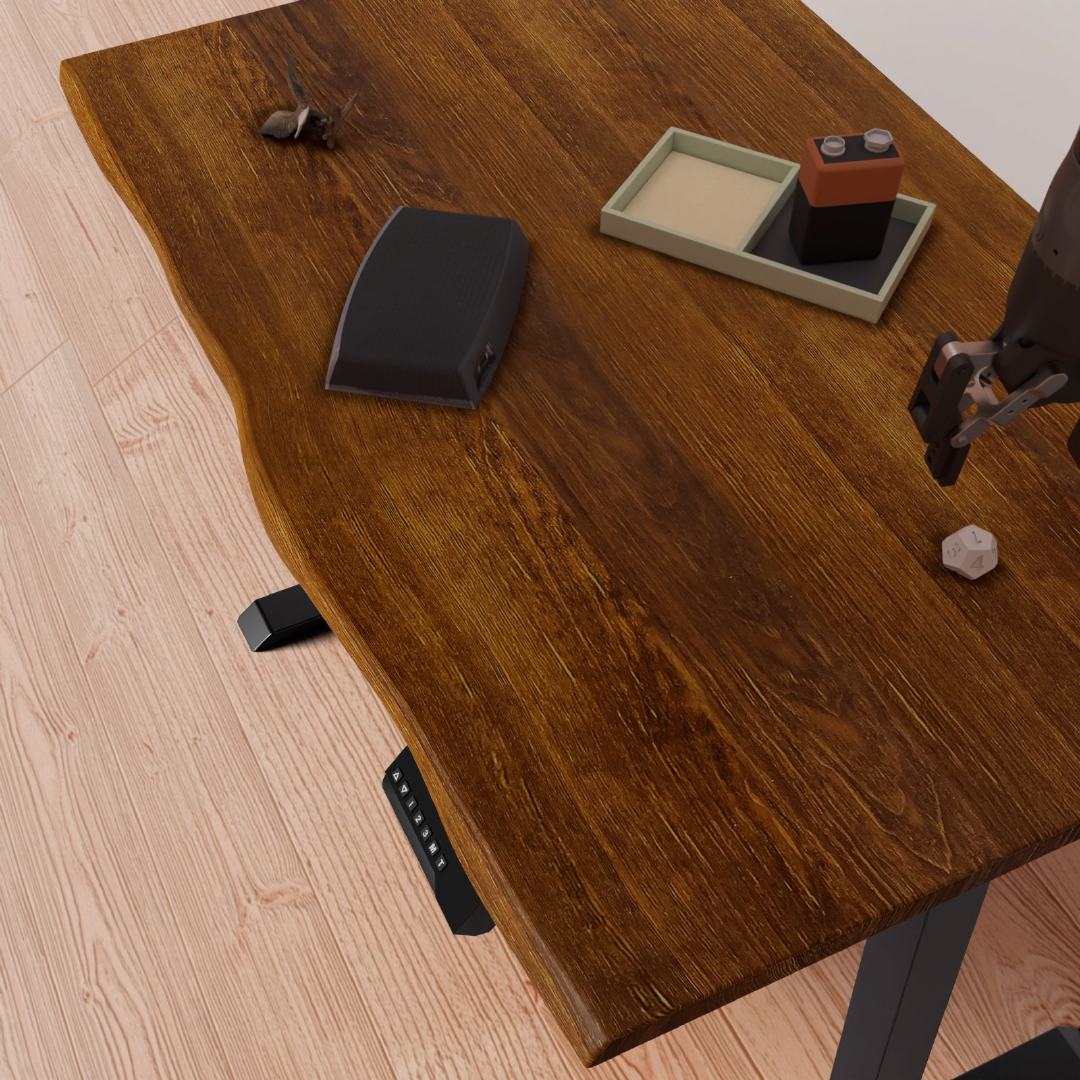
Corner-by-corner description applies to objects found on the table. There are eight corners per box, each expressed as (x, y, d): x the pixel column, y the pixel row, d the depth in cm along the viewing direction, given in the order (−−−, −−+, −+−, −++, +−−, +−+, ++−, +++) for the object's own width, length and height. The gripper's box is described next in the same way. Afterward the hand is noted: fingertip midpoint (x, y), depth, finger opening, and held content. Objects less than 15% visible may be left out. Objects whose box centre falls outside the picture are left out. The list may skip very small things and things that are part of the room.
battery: (881, 259, 94) (911, 150, 86) (799, 267, 93) (821, 158, 86) (865, 225, 97) (893, 117, 89) (785, 233, 96) (805, 125, 88)
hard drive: (315, 393, 87) (305, 353, 84) (387, 232, 98) (381, 191, 95) (485, 417, 85) (482, 377, 82) (538, 250, 97) (538, 209, 93)
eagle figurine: (375, 114, 107) (302, 66, 109) (345, 77, 100) (268, 28, 102) (328, 183, 108) (256, 135, 110) (296, 151, 101) (220, 101, 103)
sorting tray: (928, 232, 98) (937, 204, 95) (874, 329, 90) (882, 301, 88) (668, 153, 105) (671, 125, 103) (599, 237, 98) (600, 210, 95)
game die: (983, 543, 77) (997, 515, 75) (997, 589, 75) (1011, 561, 73) (930, 544, 78) (942, 516, 75) (942, 589, 75) (955, 562, 73)
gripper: (1004, 310, 53) (916, 532, 65) (1297, 275, 54) (1154, 499, 67) (943, 209, 57) (872, 435, 70) (1214, 180, 58) (1096, 407, 71)
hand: (1010, 466), depth 68 cm, fingers open, 8 cm apart
